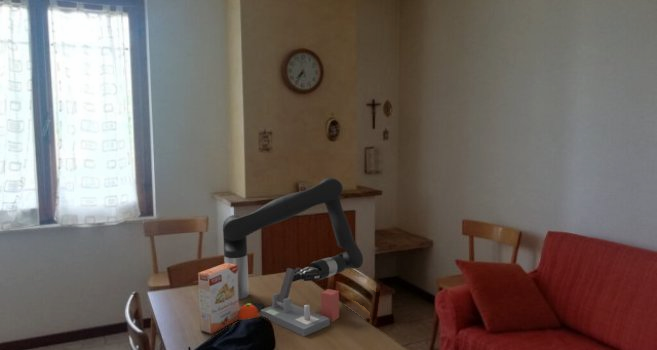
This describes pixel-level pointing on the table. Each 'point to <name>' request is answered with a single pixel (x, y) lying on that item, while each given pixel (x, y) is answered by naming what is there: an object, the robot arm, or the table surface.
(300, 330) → the grey mounting base plate
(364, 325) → the table surface
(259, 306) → the phone
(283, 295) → the breaker lever
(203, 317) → the cracker box
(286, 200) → the robot arm
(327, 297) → the red tall block
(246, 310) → the clementine
